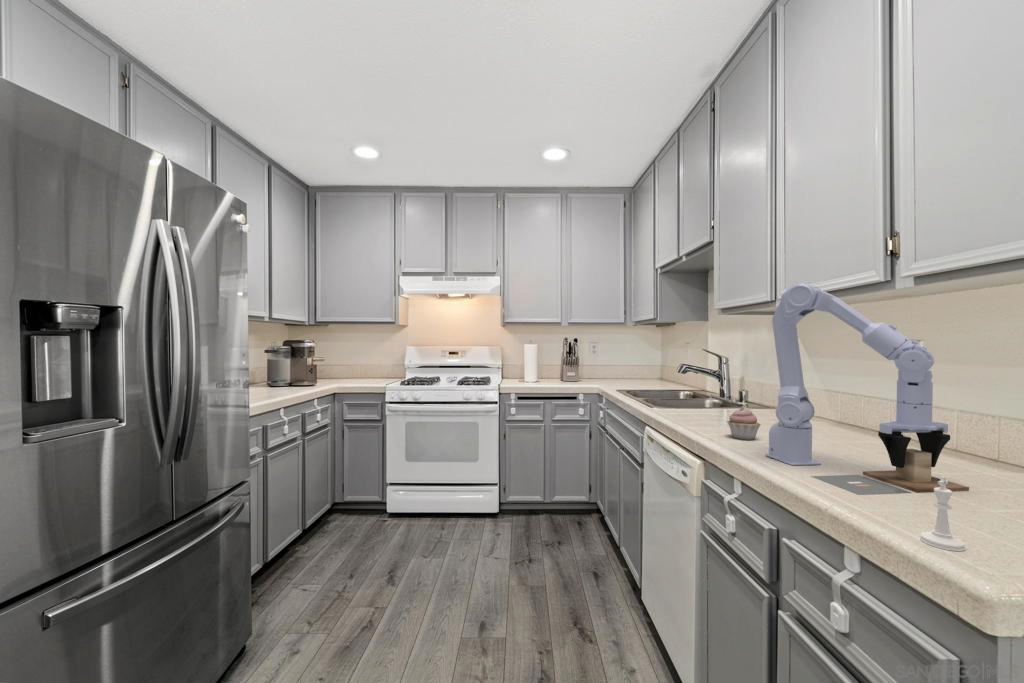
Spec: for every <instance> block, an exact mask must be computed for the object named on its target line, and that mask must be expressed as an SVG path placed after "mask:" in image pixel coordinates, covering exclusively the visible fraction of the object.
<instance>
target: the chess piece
mask: <svg viewBox="0 0 1024 683" xmlns="http://www.w3.org/2000/svg"><path fill="white" fill-rule="evenodd" d="M939 479H940V481H938V484H939V485H940V487H937V488H934V492H933V493H935V494H934V495H935V497H936V499H937V502H933V503H932V506H933V507H934V508H935V507H936V508H937V509H938V510H937V516H936V521H935V525H934V528H933V529H931V531H923V532H921V533H920V537H919V539H920V541H921V542H923V543H924V544H926V545H929V546H931V547H934V548H938V549H941V550H947V551H953V552H964V551H965V550H966V549H967V548H966V547H965V546H966V544H965V542H964V541H963V540H961V539H960V538H958V537H955V536H954V534H953V533H952V532H951V529H950V522H949V517H948V515H949V514H948V510H949V511H950V510H953V506H952V505H951V504H949V501H950V499H951V496H952V495H953V492H952V491H951V490H949V489H947V488H946V484H948V481H949V480H947V477H946V476H942V475H941V476H940V477H939Z"/></svg>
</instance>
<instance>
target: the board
mask: <svg viewBox="0 0 1024 683" xmlns="http://www.w3.org/2000/svg"><path fill="white" fill-rule="evenodd" d="M862 476H864V477H867V478H870V479H873V480H876V481H879V482H882V483H885V484H888V485H891V486H894V487H897V488H900V489H903V490H906V491H909V492H912V493H916V494H922V493H925V494H926V493H935V492H934V488H937V487H940V485H939V484H938V481H940V477H939V478H938V477H935V476H933V475H931V482H912V481H909V480H906V479H902V478H899V477H896V469H895V470H869V471H868V470H867V471H866V470H865V471H864V470H863V471H862ZM947 481H948V484H946V488H947V489H949V490H951V491H952V493H953V492H969V491H970V487H969V486H966V485H963V484H959V483H956V482H952V481H949V480H947Z"/></svg>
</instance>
